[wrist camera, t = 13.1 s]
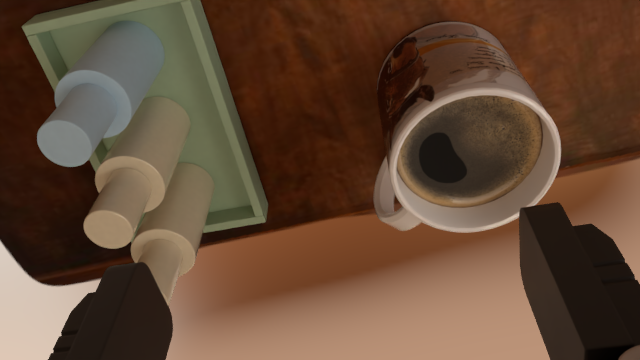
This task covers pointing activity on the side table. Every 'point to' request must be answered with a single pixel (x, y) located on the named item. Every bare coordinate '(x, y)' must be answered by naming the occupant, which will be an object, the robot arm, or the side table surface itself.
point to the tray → (169, 92)
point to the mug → (460, 133)
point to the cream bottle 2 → (175, 227)
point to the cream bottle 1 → (137, 171)
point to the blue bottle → (101, 92)
